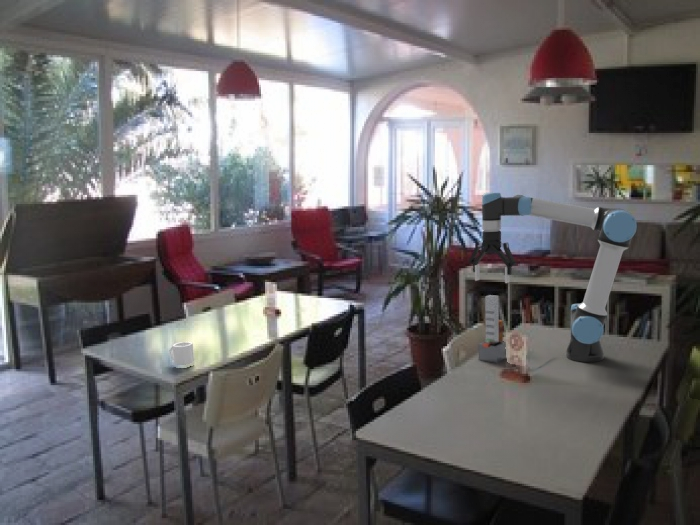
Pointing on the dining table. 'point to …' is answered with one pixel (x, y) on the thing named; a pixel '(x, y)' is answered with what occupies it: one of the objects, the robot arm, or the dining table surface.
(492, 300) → the column
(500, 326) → the mug
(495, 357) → the stand base
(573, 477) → the dining table surface
